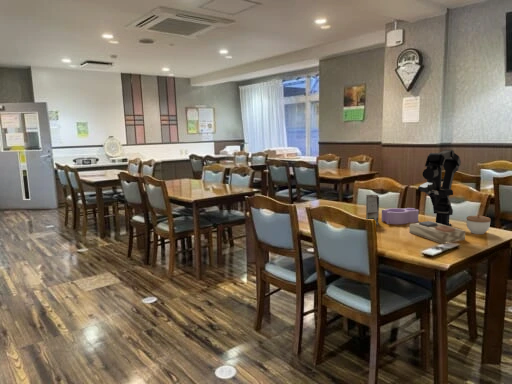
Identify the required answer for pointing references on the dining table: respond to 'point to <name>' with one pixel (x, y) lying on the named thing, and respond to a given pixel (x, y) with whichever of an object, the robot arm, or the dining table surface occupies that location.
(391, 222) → the mauve piece
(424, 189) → the robot arm
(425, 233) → the button console
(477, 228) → the lidded jar
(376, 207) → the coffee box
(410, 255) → the dining table surface
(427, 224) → the charcoal button
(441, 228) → the terracotta button
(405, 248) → the dining table surface
